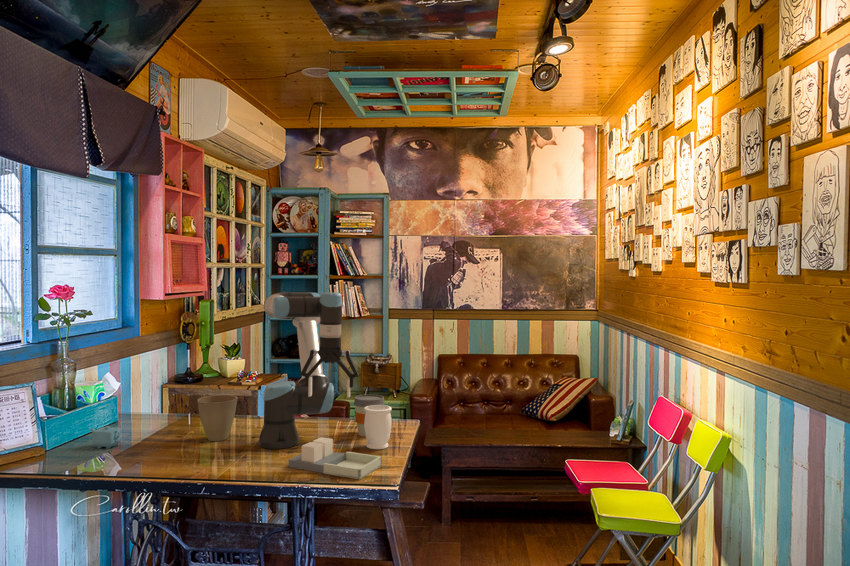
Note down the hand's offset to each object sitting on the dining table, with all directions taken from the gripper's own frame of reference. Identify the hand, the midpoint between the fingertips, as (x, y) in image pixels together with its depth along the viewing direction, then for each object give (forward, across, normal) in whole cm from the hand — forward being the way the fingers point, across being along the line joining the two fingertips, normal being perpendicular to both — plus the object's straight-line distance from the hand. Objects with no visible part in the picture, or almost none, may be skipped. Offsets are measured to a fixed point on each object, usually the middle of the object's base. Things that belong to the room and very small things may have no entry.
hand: (329, 396), depth 200 cm
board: (+22, -3, -6) cm, 23 cm away
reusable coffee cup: (+23, +11, +34) cm, 43 cm away
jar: (+23, +16, +16) cm, 32 cm away
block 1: (+20, -4, -9) cm, 22 cm away
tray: (+22, +10, -11) cm, 27 cm away
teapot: (+23, -86, +11) cm, 90 cm away
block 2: (+20, -2, -3) cm, 20 cm away
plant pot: (+23, -48, +23) cm, 58 cm away
